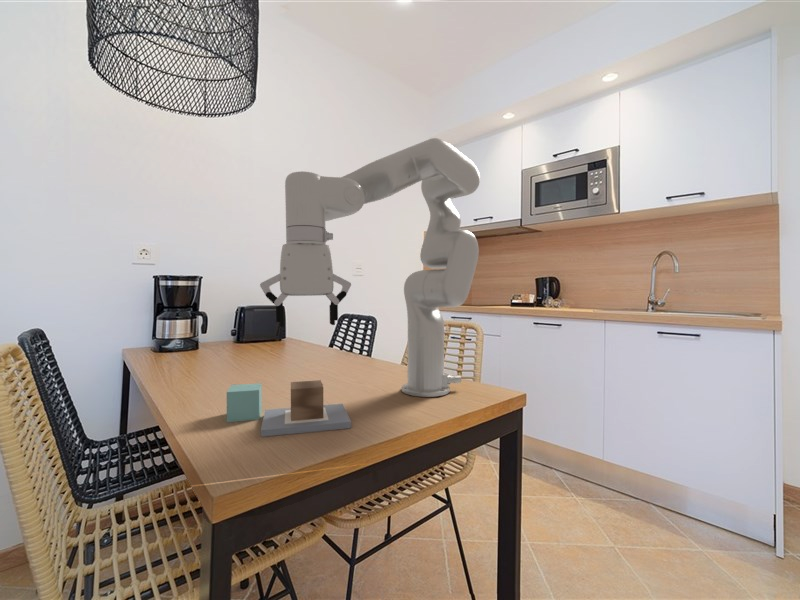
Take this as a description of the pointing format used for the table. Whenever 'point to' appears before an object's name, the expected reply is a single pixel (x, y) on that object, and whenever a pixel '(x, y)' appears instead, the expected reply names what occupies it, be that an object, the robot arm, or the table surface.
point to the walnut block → (306, 400)
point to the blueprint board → (304, 421)
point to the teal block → (244, 402)
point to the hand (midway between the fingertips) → (307, 325)
